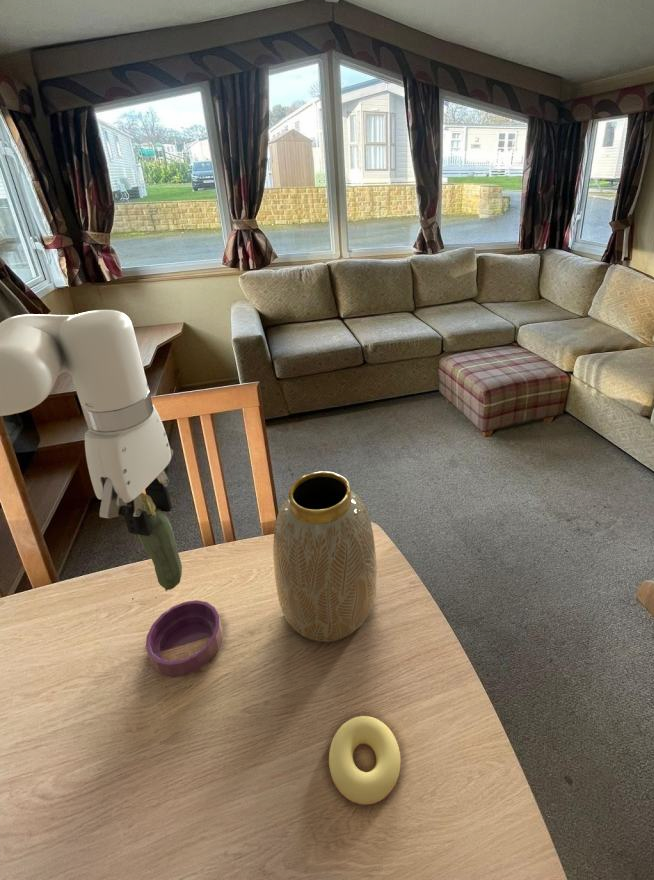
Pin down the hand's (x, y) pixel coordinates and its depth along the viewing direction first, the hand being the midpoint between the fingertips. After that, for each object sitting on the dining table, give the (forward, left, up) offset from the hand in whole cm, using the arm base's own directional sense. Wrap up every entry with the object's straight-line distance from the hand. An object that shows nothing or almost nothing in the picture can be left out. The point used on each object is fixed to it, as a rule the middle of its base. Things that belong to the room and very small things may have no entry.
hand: (151, 519), depth 68 cm
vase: (+24, 0, -28) cm, 37 cm away
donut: (+23, -25, -28) cm, 45 cm away
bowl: (0, 0, -28) cm, 28 cm away
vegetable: (0, 0, -15) cm, 15 cm away
